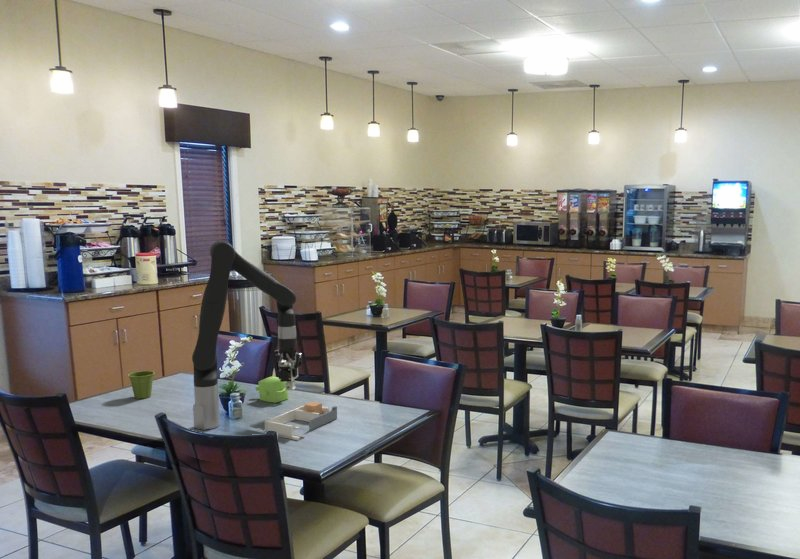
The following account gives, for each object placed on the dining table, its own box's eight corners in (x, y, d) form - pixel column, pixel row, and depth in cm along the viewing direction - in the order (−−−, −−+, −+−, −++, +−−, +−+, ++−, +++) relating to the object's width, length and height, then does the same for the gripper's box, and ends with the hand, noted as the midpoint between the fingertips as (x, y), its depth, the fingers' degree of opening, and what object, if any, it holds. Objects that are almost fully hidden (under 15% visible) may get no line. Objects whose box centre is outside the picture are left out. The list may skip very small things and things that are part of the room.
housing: (298, 440, 258) (297, 427, 257) (265, 433, 266) (264, 421, 266) (339, 421, 280) (338, 409, 279) (307, 415, 288) (306, 403, 288)
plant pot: (161, 394, 326) (159, 371, 324) (146, 401, 314) (145, 377, 313) (139, 393, 328) (137, 370, 327) (123, 400, 317) (122, 376, 316)
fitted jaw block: (314, 420, 277) (314, 406, 277) (305, 418, 280) (304, 404, 279) (322, 417, 281) (321, 403, 281) (312, 415, 284) (312, 401, 283)
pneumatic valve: (300, 386, 291) (298, 358, 290) (290, 393, 280) (288, 364, 279) (288, 386, 293) (286, 358, 292) (278, 393, 281) (275, 365, 280)
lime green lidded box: (250, 400, 315) (248, 380, 313) (266, 394, 322) (264, 374, 321) (277, 405, 304) (276, 385, 303) (293, 399, 312) (291, 379, 311)
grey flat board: (311, 430, 265) (310, 417, 264) (308, 430, 266) (308, 417, 265) (337, 418, 279) (337, 406, 279) (335, 418, 280) (334, 406, 279)
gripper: (267, 336, 284) (269, 376, 286) (294, 339, 277) (296, 380, 279) (279, 333, 291) (281, 372, 293) (306, 336, 283) (307, 376, 285)
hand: (288, 375), depth 286 cm, fingers closed on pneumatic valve, 5 cm apart
